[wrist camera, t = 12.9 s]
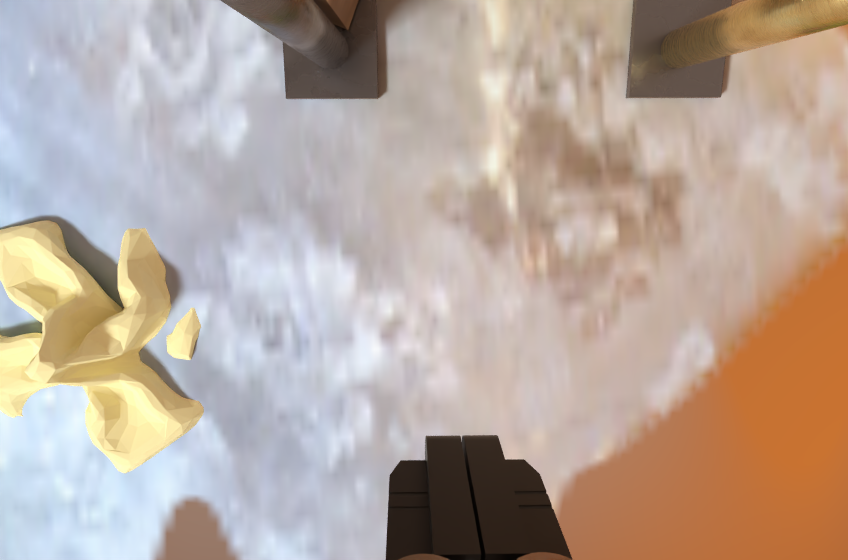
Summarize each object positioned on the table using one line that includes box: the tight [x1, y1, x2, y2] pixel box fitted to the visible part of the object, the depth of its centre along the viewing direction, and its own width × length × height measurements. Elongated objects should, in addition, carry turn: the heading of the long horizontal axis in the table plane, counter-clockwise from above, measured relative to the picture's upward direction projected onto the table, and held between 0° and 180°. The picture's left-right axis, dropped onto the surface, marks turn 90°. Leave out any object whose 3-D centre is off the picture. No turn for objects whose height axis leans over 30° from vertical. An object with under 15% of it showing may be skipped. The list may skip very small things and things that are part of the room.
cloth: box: [0, 220, 204, 473], centre depth 41 cm, size 22×19×6 cm
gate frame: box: [221, 0, 848, 99], centre depth 29 cm, size 28×6×20 cm, turn 90°
